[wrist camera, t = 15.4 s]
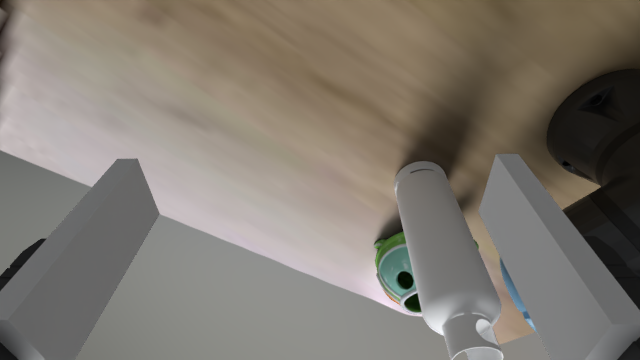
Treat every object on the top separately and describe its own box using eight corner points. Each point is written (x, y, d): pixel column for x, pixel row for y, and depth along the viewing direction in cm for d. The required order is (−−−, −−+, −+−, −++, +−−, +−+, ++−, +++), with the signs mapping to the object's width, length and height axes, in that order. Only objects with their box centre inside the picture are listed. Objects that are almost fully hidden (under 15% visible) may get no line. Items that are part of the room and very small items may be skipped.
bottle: (457, 178, 56) (541, 356, 33) (419, 209, 60) (471, 387, 37) (419, 151, 53) (483, 326, 31) (383, 186, 57) (415, 363, 35)
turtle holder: (484, 229, 62) (511, 286, 52) (402, 277, 70) (413, 334, 61) (441, 190, 57) (462, 245, 48) (358, 246, 66) (363, 303, 56)
